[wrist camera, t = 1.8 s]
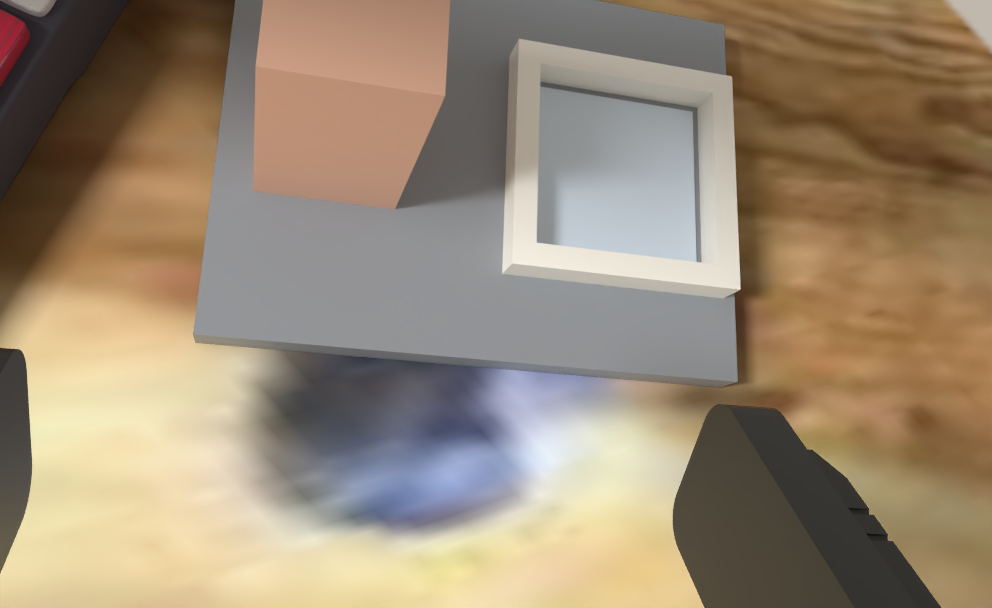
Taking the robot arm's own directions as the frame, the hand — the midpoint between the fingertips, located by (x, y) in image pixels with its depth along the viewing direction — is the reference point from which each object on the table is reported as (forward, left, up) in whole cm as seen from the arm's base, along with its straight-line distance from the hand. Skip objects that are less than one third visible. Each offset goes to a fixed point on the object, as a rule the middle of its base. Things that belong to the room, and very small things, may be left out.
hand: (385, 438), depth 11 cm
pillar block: (0, +12, -17) cm, 21 cm away
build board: (+5, +12, -18) cm, 22 cm away
